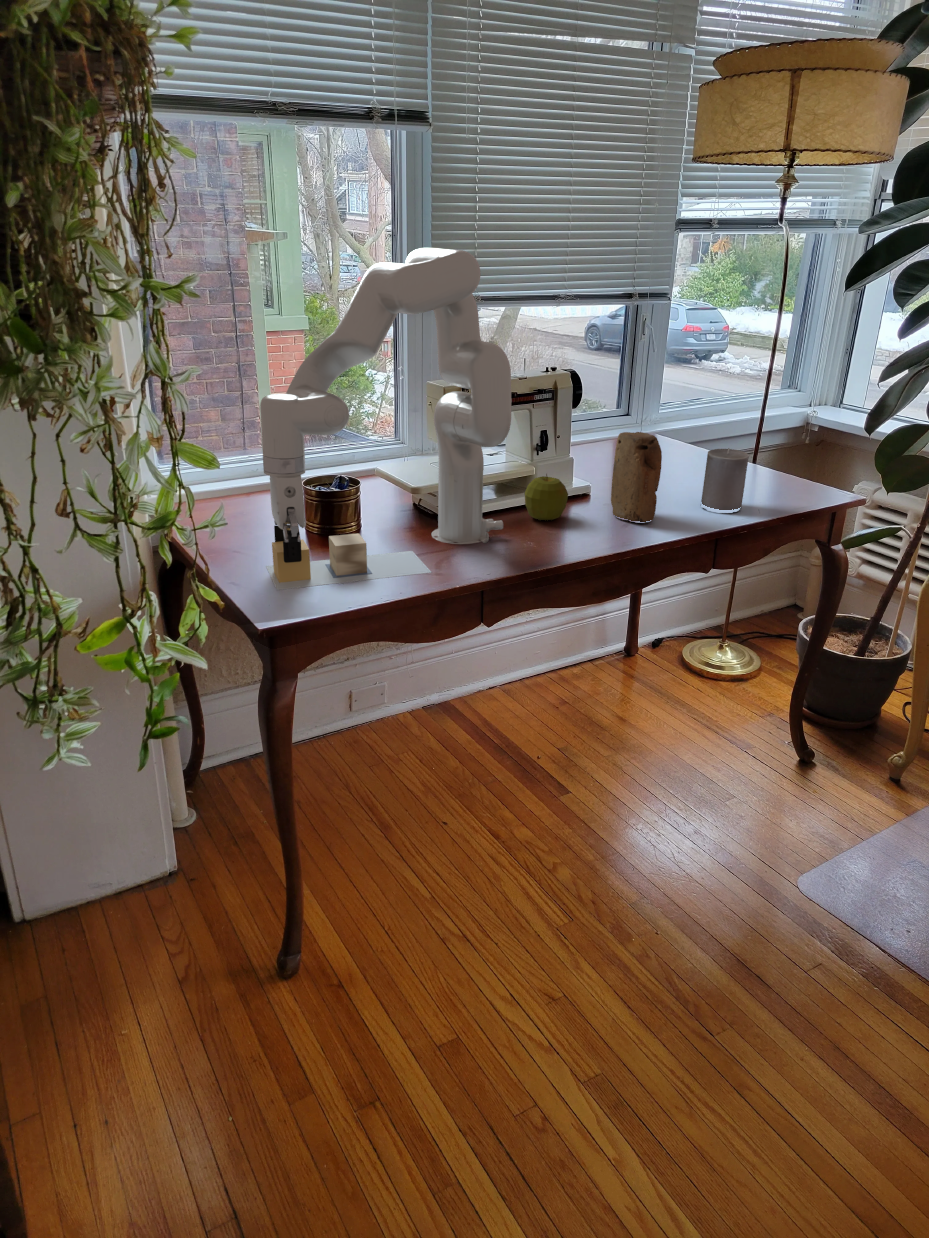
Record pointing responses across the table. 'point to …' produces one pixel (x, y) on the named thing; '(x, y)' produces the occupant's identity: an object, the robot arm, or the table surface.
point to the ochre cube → (291, 564)
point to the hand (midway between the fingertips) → (288, 553)
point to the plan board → (376, 569)
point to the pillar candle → (724, 479)
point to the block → (636, 476)
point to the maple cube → (348, 554)
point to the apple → (545, 498)
